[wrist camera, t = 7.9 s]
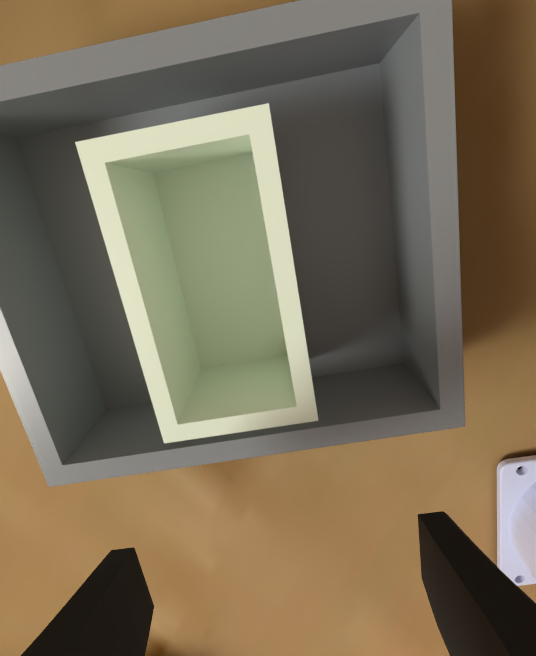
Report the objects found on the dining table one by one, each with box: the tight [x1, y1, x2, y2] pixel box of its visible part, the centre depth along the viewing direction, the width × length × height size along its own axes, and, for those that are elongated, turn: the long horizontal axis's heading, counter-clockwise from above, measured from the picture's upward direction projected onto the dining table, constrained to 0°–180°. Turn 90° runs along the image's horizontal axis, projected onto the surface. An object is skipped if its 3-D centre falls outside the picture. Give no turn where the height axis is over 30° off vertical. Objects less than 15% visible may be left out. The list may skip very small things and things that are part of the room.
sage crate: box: [75, 103, 318, 443], centre depth 14 cm, size 5×9×5 cm, turn 10°
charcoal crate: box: [0, 0, 465, 487], centre depth 15 cm, size 15×13×5 cm
